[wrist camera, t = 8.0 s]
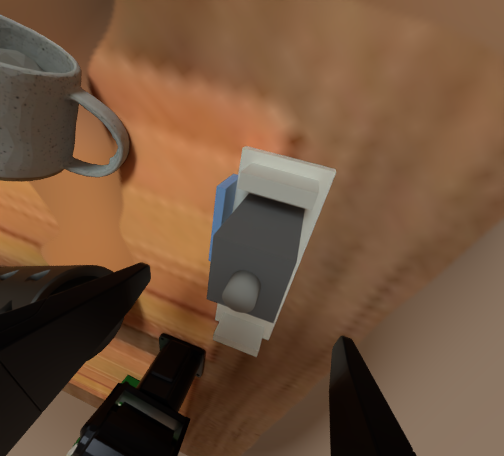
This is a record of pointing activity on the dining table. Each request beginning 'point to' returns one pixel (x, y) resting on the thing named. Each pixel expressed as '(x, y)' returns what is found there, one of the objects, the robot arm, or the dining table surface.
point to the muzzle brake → (46, 286)
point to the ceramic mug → (45, 109)
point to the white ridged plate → (275, 188)
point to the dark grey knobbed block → (255, 256)
